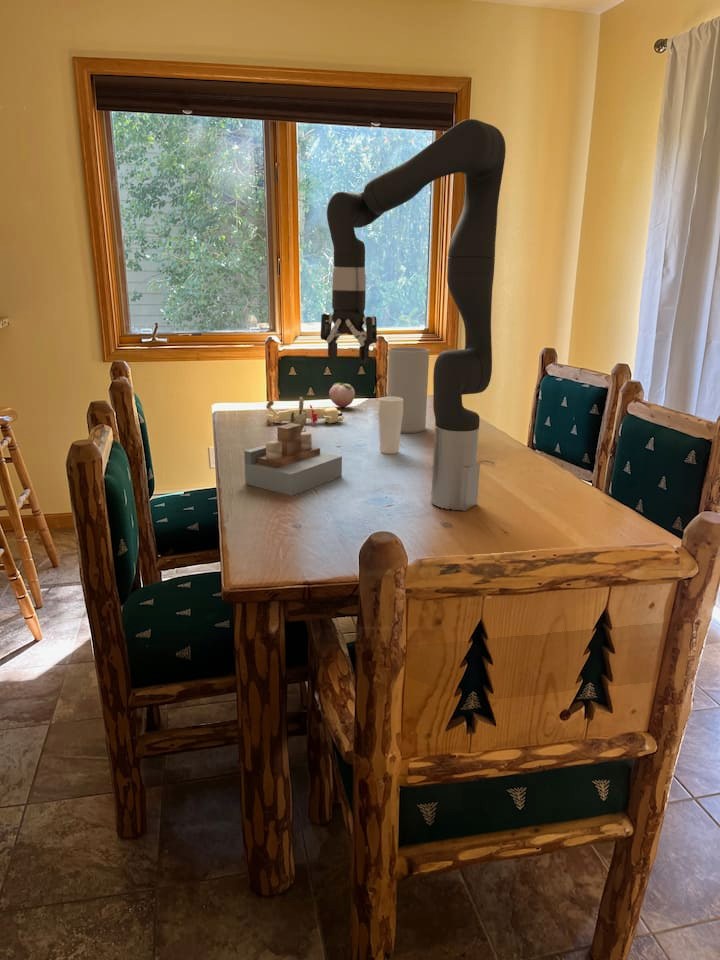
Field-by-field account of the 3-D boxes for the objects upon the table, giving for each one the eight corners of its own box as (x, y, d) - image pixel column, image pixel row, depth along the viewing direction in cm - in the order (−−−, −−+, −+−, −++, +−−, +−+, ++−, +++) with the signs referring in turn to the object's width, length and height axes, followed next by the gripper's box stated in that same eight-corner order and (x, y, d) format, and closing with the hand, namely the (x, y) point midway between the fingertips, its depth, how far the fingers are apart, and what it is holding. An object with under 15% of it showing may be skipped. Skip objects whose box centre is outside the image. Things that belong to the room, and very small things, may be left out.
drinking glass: (399, 456, 187) (401, 401, 182) (375, 454, 188) (376, 400, 183) (403, 449, 193) (405, 397, 188) (379, 448, 194) (380, 395, 190)
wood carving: (317, 432, 210) (317, 396, 207) (302, 464, 177) (302, 422, 174) (288, 432, 211) (287, 396, 207) (268, 463, 177) (267, 421, 174)
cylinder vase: (432, 432, 214) (436, 351, 207) (395, 434, 210) (398, 352, 202) (414, 423, 225) (418, 346, 218) (379, 426, 221) (382, 347, 213)
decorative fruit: (359, 407, 248) (360, 380, 245) (347, 411, 242) (347, 383, 239) (338, 404, 253) (338, 377, 250) (325, 408, 246) (325, 380, 243)
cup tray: (301, 449, 171) (300, 418, 169) (320, 453, 168) (320, 421, 166) (257, 463, 159) (256, 430, 156) (276, 468, 156) (276, 434, 153)
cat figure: (268, 431, 217) (346, 423, 220) (265, 404, 214) (344, 396, 217) (267, 424, 227) (342, 417, 230) (264, 398, 224) (340, 391, 227)
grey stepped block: (341, 476, 168) (342, 444, 165) (291, 495, 153) (291, 461, 150) (297, 466, 175) (297, 435, 173) (245, 483, 160) (244, 450, 158)
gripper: (384, 289, 154) (382, 362, 158) (333, 287, 161) (333, 356, 166) (365, 289, 148) (364, 365, 153) (313, 287, 155) (313, 359, 160)
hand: (347, 360), depth 159 cm, fingers open, 8 cm apart
